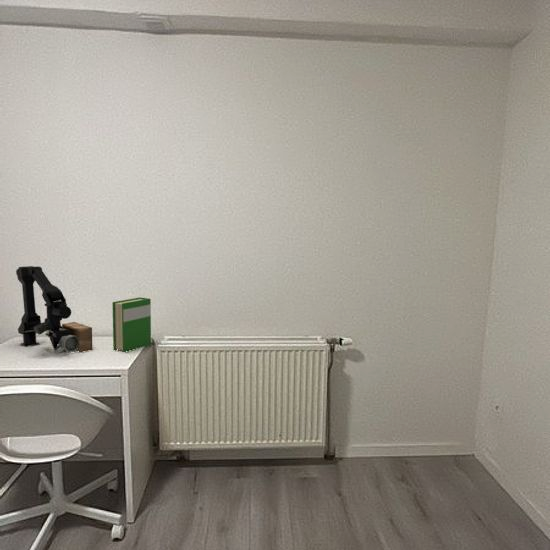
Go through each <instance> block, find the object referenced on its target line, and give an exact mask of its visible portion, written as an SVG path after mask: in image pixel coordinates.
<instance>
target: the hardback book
mask: <svg viewBox="0 0 550 550" xmlns="http://www.w3.org/2000/svg"><path fill="white" fill-rule="evenodd" d="M151 302H152V300H151V298H147V297H133V298H128V299H127V298H126V299H122V300H115V301H112V338H113V339H112V340H113V343H112V345H113V347H112V348H113V351H114V350H115V351H122V353H123V352H125V353H127V352H126V351H128V352H130V351H129V350H131V351H134V350H133V349H135V350H137V349H136V348H138V349H141V348H144V347H147V346H151V345H152V313H151V312H152V310H151V309H152V308H151V307H152V304H151ZM140 347H141V348H140ZM117 349H118V350H117Z"/></svg>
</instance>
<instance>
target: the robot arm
mask: <svg viewBox="0 0 550 550" xmlns="http://www.w3.org/2000/svg"><path fill="white" fill-rule="evenodd" d="M15 272H16V273H15V274H16V277H17V280H18V282H19V283H20V284H21V287H22V301H23V310H24V311H23V312H24V314H23V316H21V319H20V325H19V327H18V328H17V332H18V334H20V335H22V339H23V342H20V345H21V344H22V346H24V347H30V346H29V345H31V346H35V345H40V343H39V342H38V341H37V335H42V334H44V335H45V336H47V337H48V338H49V340H50V344H51V345H52V347H53V349H54V348H56V347H57V346H58V345H59V344H58V343H59V341H60V339H61V337H63V336H69V331H68V330H67V329H62V323H61V321H63V319H64V320H66V319H69V318H70V317H71V315H72V310H71V308H70V307H69V306H68V304H67V300H66V297H65V296H64V294H63V292H62V290H61V289H60V288H59V287H57V286H56V285H53V284H52V283H51V281H50V279H48V277H47V276H46V273H44V271H43V268H42V267H41V266H39V265H38V266H32V265H30V266H29V265H28V266H19V267H18V268H17V269H16V271H15ZM34 283H37V285H38V286H39V288H40V290H41V291H42V294H41V296H42V299H43V300H44V302H45V303H44V306H45V307H46V317H45V319H44V321H43V322H42V319H41V315H38V313H37V312H36V311H37V310H36V302H35V301H36V300H35V290H34V289H35V287H34Z"/></svg>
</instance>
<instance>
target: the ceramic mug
mask: <svg viewBox="0 0 550 550" xmlns="http://www.w3.org/2000/svg"><path fill="white" fill-rule="evenodd" d="M78 345H79V339H78V337H76V336H72V335H69V336H63V337H61V339H60V341H59V343H58V345H57V347H56V348H53V351H54V354H59V353H61V352H63V351H66V352H70V353H72V352H75V351H77V346H78Z"/></svg>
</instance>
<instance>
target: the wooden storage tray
mask: <svg viewBox="0 0 550 550" xmlns="http://www.w3.org/2000/svg"><path fill="white" fill-rule="evenodd" d="M61 326H62V329H67V330H68V331H69V335H72V336H76V337H78V339H79V345H78V346H77V350H76V351H77V352H78V351H79V352H78V353H84V352H83V351H85V352H88V350H90V351H92V349H94V348H93V327H92V326H89V325H85V324H82V323H79V322H76V321H72V322H65V323H61Z"/></svg>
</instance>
